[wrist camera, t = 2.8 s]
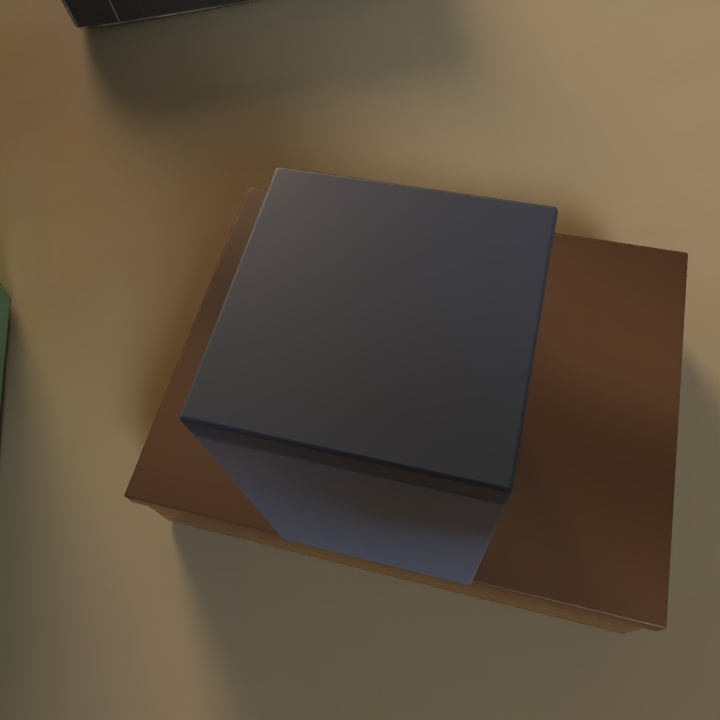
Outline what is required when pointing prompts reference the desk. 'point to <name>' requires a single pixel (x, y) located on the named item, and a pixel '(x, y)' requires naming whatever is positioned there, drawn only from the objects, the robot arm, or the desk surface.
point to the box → (3, 331)
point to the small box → (377, 367)
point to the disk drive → (134, 9)
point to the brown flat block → (537, 450)
